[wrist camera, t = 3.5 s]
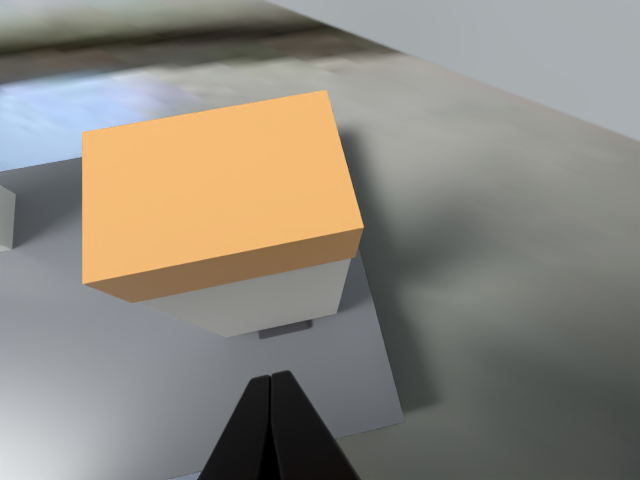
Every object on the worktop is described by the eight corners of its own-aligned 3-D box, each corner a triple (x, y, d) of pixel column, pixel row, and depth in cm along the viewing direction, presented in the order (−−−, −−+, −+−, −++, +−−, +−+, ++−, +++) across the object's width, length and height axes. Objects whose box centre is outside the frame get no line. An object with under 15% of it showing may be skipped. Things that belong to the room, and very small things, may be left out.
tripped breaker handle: (338, 314, 14) (363, 227, 6) (225, 339, 13) (82, 284, 5) (323, 248, 14) (326, 89, 6) (216, 269, 14) (82, 132, 6)
